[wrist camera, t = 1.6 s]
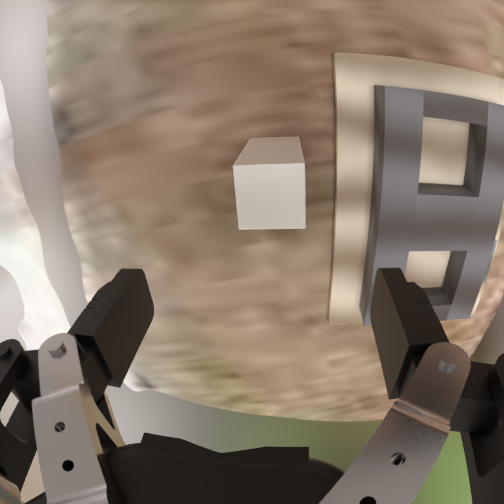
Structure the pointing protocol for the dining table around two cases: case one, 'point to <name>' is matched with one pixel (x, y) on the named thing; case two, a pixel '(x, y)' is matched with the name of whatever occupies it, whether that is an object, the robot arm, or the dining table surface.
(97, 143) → the dining table surface
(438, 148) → the socket board
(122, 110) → the dining table surface
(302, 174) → the white rectangular block
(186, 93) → the dining table surface
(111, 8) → the dining table surface
